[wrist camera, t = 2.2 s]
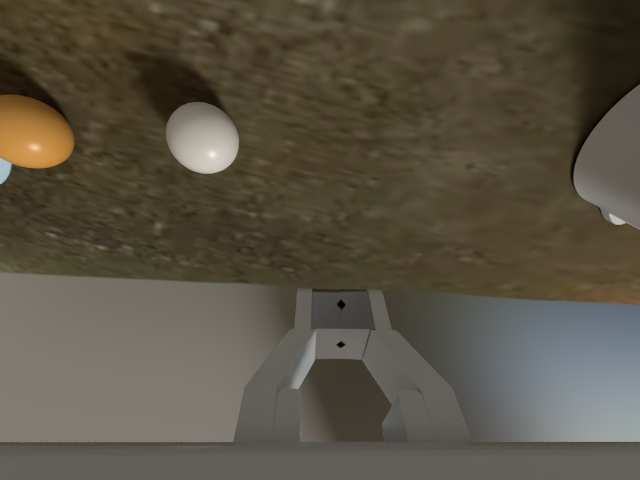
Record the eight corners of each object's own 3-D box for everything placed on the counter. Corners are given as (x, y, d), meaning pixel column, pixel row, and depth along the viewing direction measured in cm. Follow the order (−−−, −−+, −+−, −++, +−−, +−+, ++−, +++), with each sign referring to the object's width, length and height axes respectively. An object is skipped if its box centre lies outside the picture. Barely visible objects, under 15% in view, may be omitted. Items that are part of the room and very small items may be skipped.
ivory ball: (230, 88, 22) (209, 103, 18) (253, 152, 26) (241, 177, 21) (169, 103, 23) (136, 121, 19) (200, 163, 26) (178, 190, 22)
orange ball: (55, 81, 22) (-8, 95, 18) (103, 146, 25) (59, 172, 21) (-1, 96, 23) (-76, 114, 18) (52, 158, 26) (0, 185, 22)
